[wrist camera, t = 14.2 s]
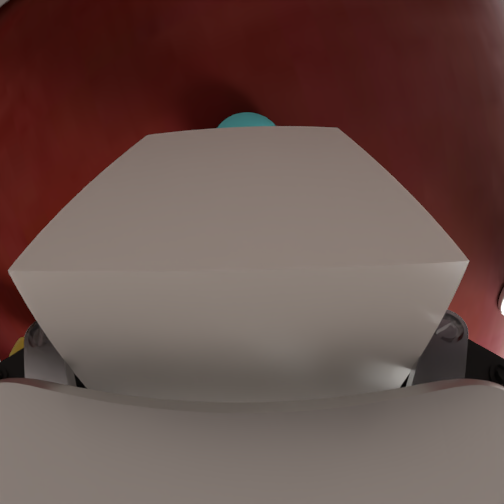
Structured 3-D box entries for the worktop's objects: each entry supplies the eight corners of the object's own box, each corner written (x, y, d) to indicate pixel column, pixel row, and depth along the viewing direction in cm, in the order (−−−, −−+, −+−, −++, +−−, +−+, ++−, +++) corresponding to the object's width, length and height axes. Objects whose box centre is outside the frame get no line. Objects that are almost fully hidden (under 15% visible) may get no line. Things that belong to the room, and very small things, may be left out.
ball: (289, 179, 18) (284, 179, 23) (281, 100, 17) (278, 117, 22) (208, 186, 18) (220, 185, 23) (201, 109, 17) (214, 124, 22)
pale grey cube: (337, 127, 11) (469, 260, 4) (322, 277, 15) (359, 440, 8) (147, 135, 11) (7, 270, 4) (175, 280, 16) (136, 440, 8)
